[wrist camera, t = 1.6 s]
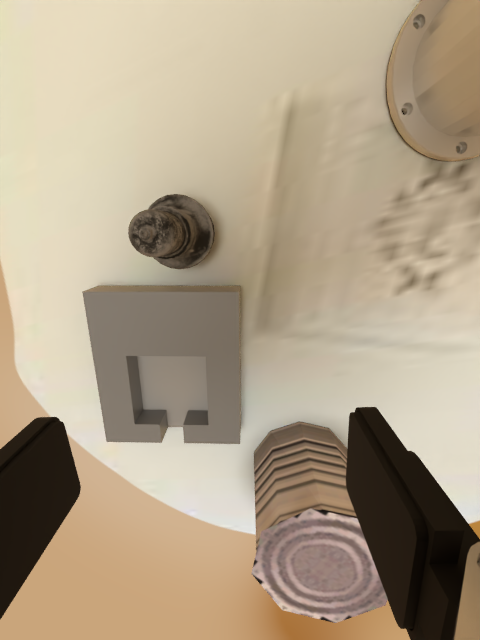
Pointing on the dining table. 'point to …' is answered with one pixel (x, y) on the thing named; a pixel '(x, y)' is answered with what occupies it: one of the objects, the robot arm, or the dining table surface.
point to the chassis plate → (167, 361)
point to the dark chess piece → (173, 231)
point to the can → (310, 527)
